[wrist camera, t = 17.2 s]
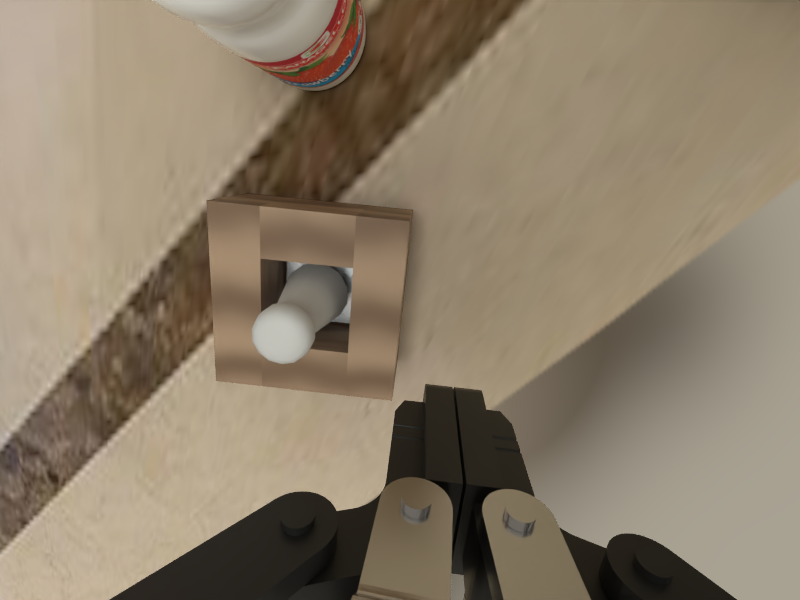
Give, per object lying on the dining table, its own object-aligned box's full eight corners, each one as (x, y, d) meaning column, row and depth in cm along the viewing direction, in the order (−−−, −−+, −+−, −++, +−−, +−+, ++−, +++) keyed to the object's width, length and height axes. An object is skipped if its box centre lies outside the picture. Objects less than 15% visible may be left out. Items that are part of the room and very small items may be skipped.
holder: (247, 193, 40) (206, 200, 32) (412, 210, 40) (410, 221, 32) (251, 344, 45) (216, 380, 38) (397, 360, 45) (391, 400, 37)
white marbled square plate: (290, 246, 40) (286, 247, 39) (361, 253, 40) (360, 255, 39) (289, 313, 43) (286, 316, 42) (357, 320, 43) (355, 323, 42)
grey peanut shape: (351, 316, 41) (319, 382, 29) (294, 312, 42) (239, 376, 29) (352, 259, 39) (319, 303, 27) (292, 255, 40) (233, 297, 27)
